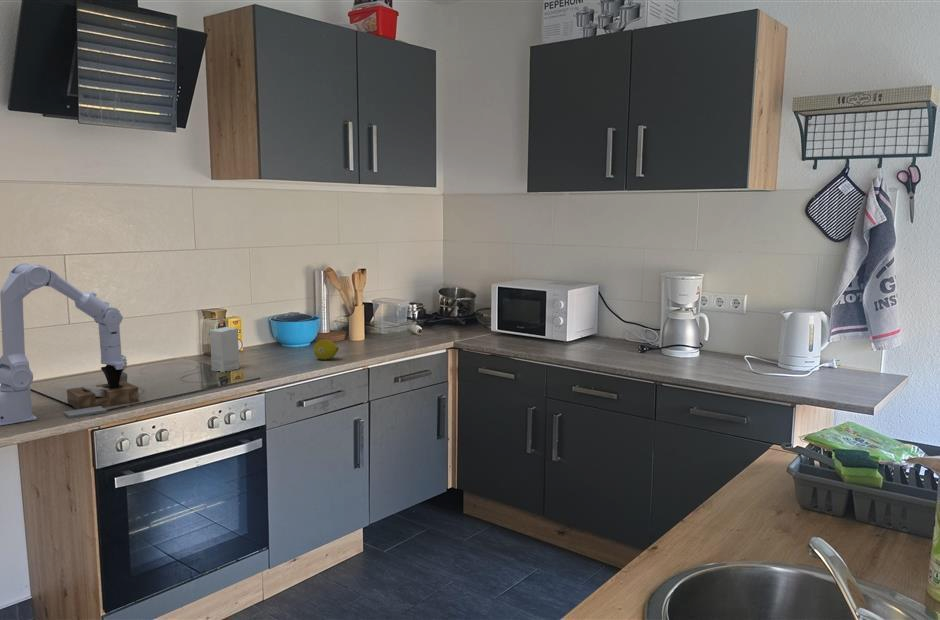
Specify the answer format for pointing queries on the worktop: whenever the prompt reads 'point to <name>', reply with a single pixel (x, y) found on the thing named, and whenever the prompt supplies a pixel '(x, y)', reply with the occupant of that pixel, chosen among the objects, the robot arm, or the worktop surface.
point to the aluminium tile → (97, 391)
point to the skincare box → (224, 349)
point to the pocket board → (113, 397)
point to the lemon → (325, 349)
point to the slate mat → (84, 412)
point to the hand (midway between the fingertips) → (114, 388)
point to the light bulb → (123, 375)
